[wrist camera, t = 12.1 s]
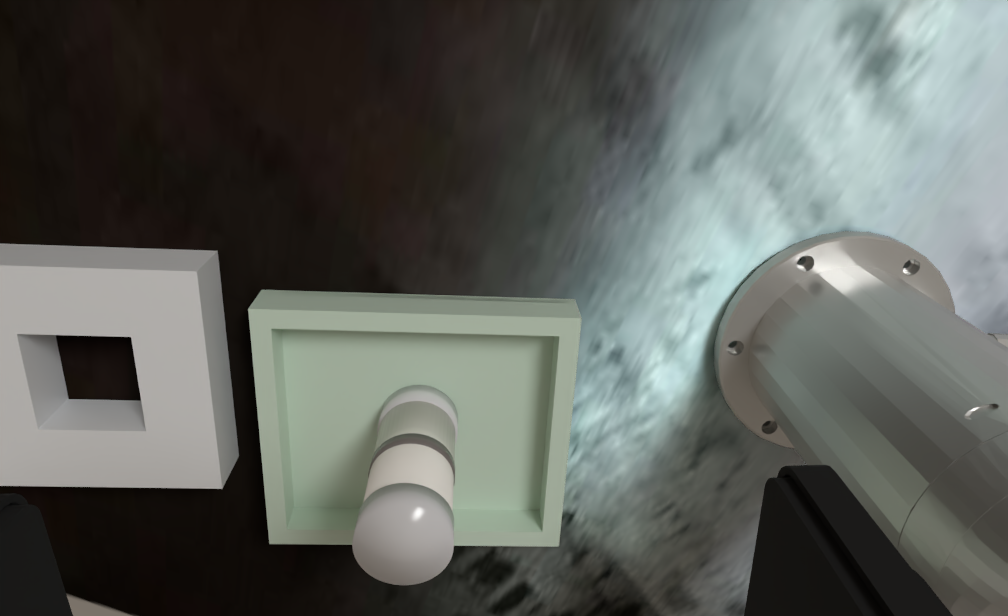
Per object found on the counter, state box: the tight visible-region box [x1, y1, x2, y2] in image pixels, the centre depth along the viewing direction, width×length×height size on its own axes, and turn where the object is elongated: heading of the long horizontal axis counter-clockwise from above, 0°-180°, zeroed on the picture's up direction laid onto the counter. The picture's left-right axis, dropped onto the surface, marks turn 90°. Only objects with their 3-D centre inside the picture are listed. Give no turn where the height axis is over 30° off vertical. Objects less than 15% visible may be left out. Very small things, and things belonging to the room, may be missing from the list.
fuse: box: [352, 385, 458, 585], centre depth 35 cm, size 4×4×10 cm
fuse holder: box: [0, 244, 239, 489], centre depth 37 cm, size 12×12×3 cm
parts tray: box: [248, 290, 582, 547], centre depth 39 cm, size 16×14×2 cm
